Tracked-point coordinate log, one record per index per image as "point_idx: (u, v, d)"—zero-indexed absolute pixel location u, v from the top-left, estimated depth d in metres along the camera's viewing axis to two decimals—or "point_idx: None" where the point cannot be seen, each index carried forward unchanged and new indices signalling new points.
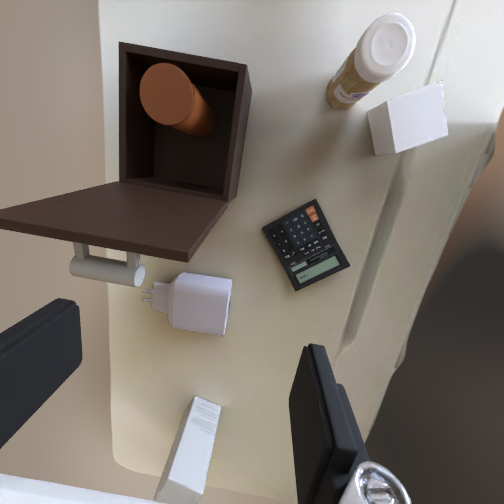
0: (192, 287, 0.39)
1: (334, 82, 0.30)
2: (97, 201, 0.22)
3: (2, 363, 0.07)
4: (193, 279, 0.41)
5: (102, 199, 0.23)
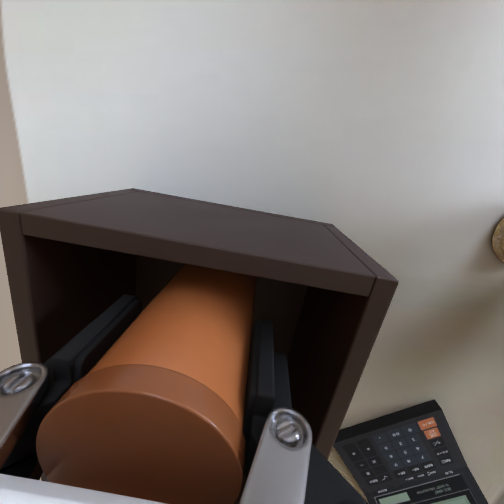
0: None
1: None
2: None
3: (97, 349, 0.08)
4: None
5: None
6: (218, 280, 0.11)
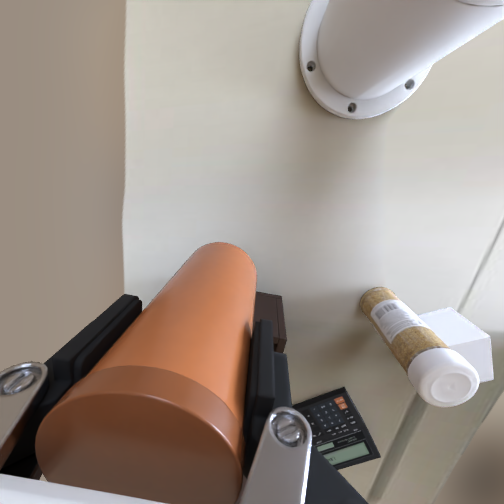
0: None
1: (373, 319, 0.28)
2: None
3: (97, 349, 0.08)
4: None
5: None
6: (218, 281, 0.11)
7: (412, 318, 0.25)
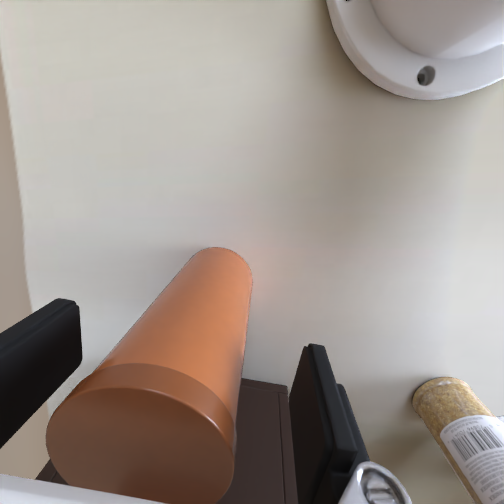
0: None
1: (448, 450, 0.16)
2: None
3: (2, 364, 0.07)
4: None
5: None
6: (214, 285, 0.12)
7: None
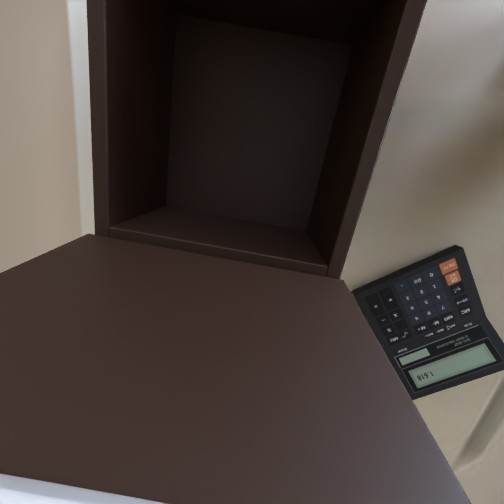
0: None
1: None
2: None
3: None
4: None
5: None
6: None
7: None
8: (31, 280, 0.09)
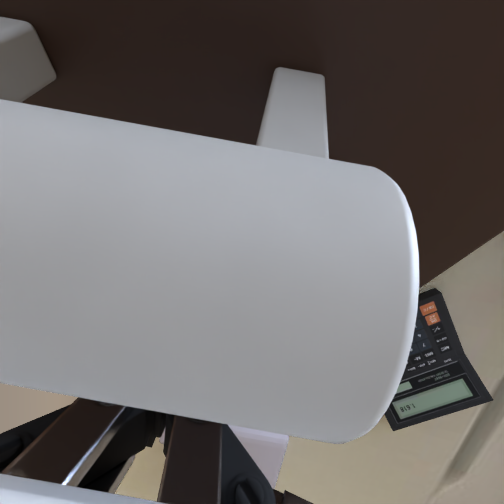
0: None
1: None
2: None
3: None
4: None
5: None
6: None
7: None
8: None
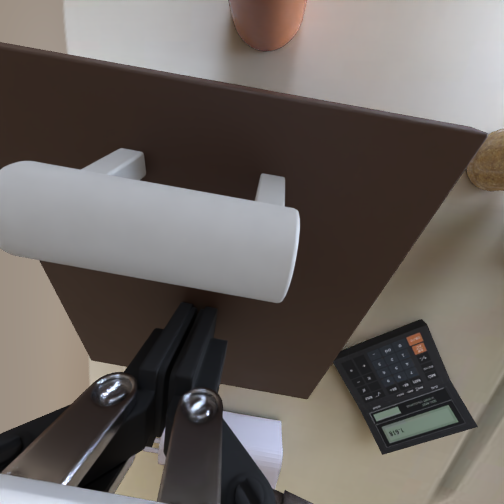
0: None
1: None
2: None
3: (173, 359, 0.08)
4: None
5: None
6: None
7: None
8: None
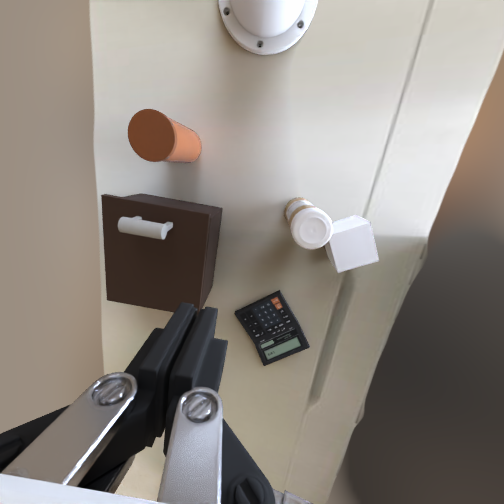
0: None
1: (286, 216, 0.36)
2: None
3: (173, 359, 0.08)
4: None
5: None
6: None
7: (306, 203, 0.33)
8: None
